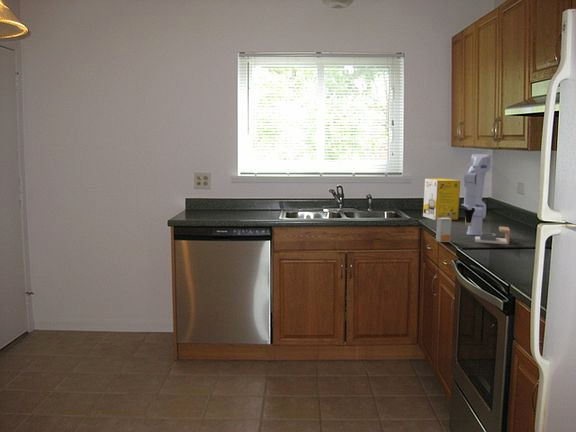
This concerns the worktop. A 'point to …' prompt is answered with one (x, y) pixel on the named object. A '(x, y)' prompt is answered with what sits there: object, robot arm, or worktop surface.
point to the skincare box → (443, 229)
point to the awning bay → (494, 237)
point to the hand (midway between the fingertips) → (468, 222)
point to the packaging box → (441, 198)
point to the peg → (467, 223)
